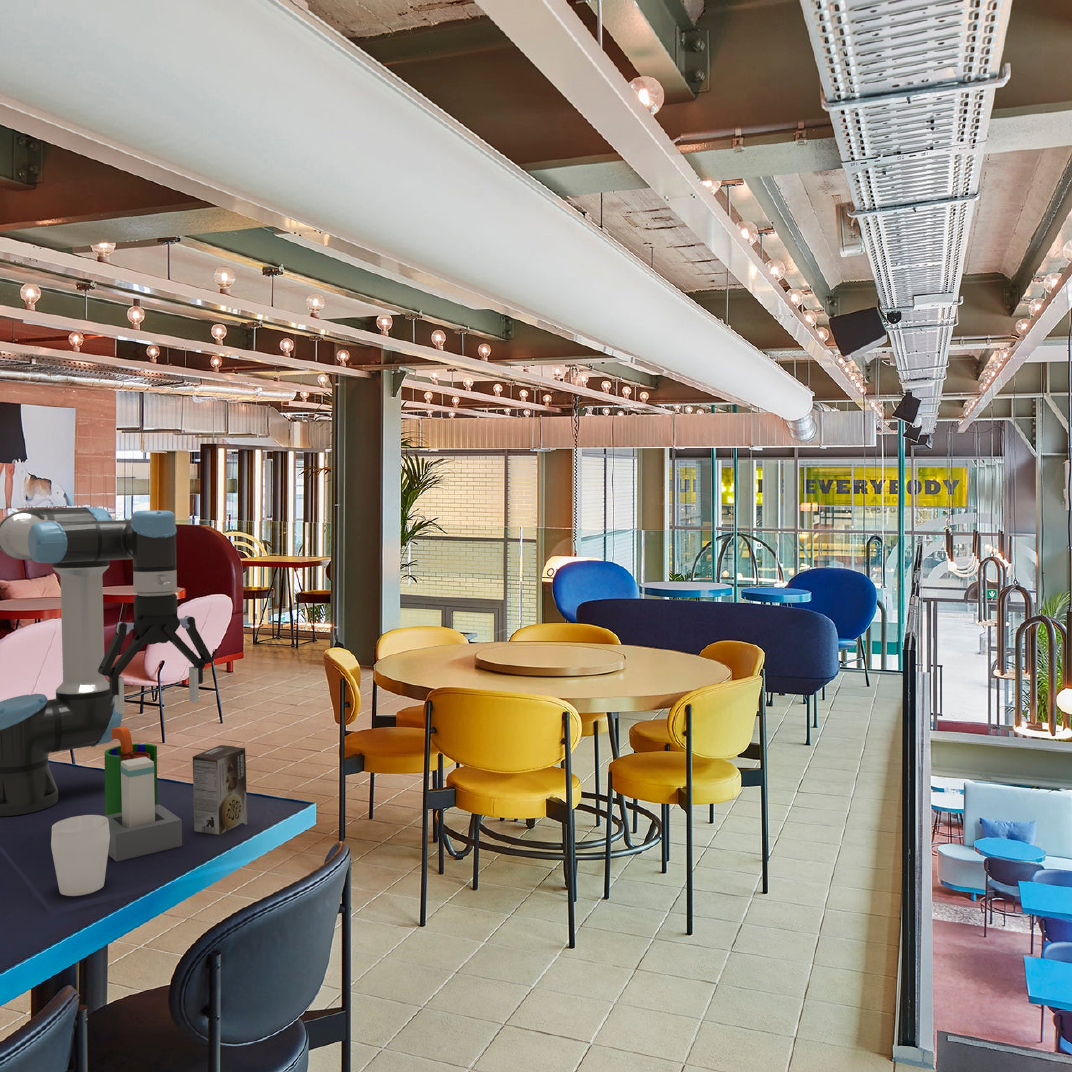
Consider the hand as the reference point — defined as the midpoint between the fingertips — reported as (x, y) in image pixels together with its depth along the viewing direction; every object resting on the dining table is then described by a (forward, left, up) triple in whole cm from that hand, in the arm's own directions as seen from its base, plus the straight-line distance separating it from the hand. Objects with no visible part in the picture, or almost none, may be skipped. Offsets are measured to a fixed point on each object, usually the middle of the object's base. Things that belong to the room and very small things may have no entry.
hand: (158, 706), depth 179 cm
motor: (-20, +1, -28) cm, 35 cm away
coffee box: (-5, +14, -28) cm, 32 cm away
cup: (+9, -16, -28) cm, 34 cm away
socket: (-5, -2, -28) cm, 29 cm away
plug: (-5, -2, -27) cm, 28 cm away
